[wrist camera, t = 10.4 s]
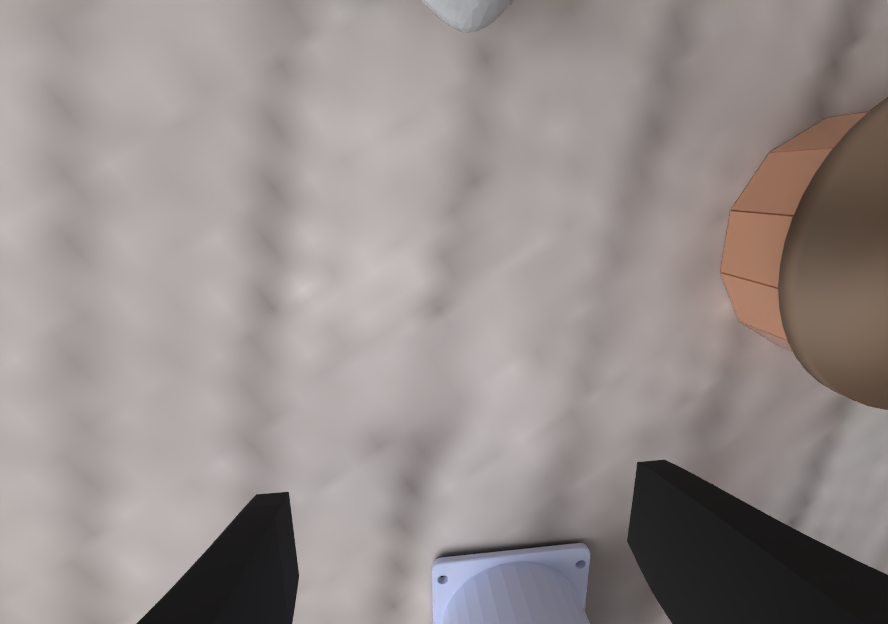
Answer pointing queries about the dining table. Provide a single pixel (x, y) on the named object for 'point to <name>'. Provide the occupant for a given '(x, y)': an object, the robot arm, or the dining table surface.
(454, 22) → the teacup
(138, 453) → the dining table surface
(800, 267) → the lid
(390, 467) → the dining table surface
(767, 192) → the bowl
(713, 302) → the dining table surface
